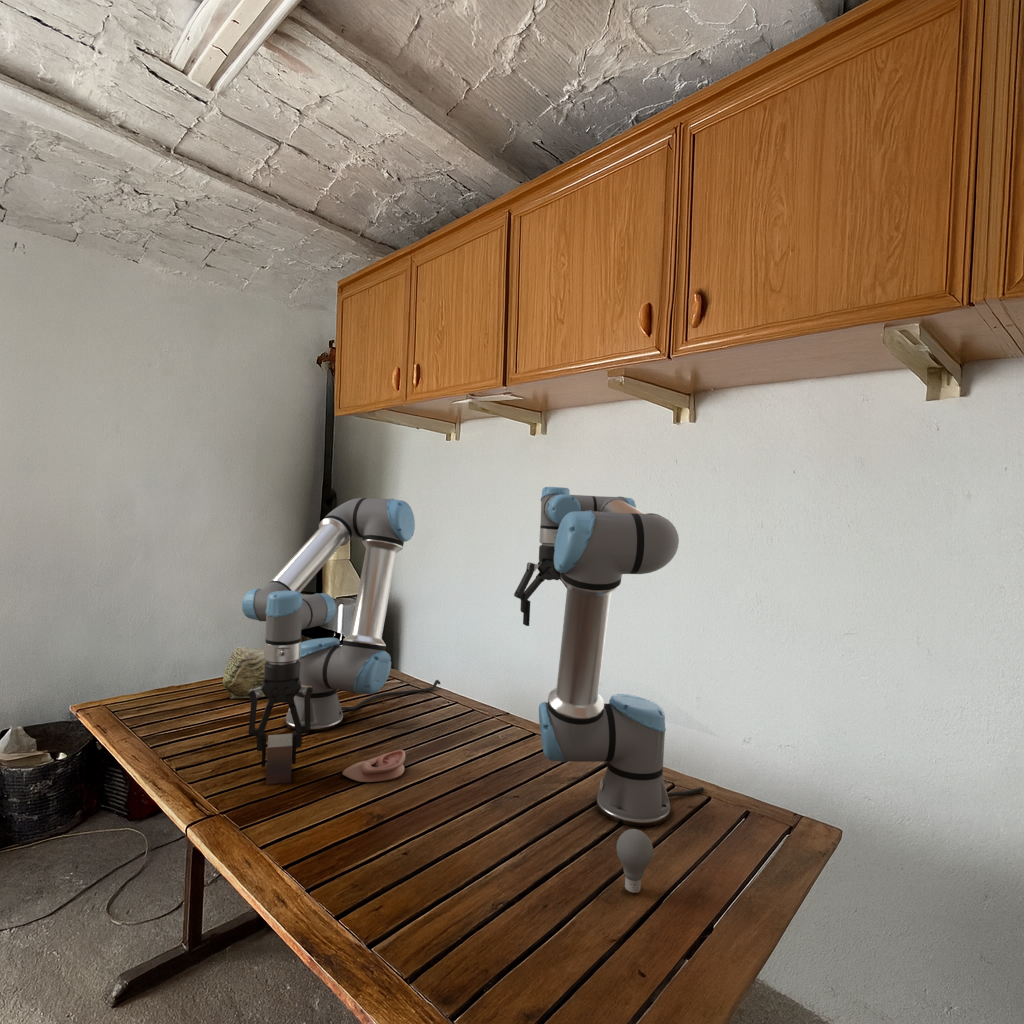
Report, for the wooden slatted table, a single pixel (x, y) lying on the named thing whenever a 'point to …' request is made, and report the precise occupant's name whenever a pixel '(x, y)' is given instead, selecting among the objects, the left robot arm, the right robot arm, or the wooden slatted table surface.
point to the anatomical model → (377, 768)
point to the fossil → (244, 672)
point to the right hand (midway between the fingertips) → (549, 624)
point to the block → (279, 759)
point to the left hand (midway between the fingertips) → (278, 762)
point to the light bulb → (634, 857)
